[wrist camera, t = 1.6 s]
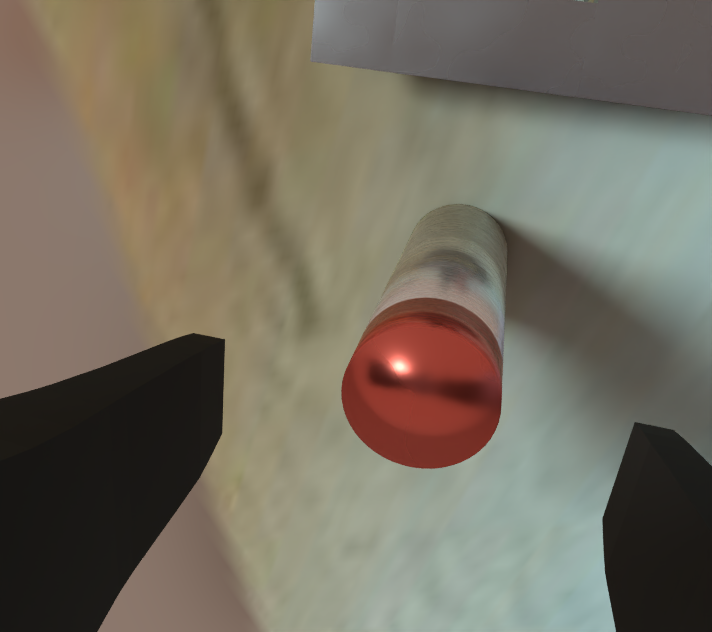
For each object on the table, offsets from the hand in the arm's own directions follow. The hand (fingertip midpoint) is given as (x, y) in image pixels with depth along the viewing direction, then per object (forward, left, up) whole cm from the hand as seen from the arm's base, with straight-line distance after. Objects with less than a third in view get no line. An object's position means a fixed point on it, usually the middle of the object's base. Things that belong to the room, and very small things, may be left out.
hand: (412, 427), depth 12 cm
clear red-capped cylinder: (0, 0, -10) cm, 10 cm away
